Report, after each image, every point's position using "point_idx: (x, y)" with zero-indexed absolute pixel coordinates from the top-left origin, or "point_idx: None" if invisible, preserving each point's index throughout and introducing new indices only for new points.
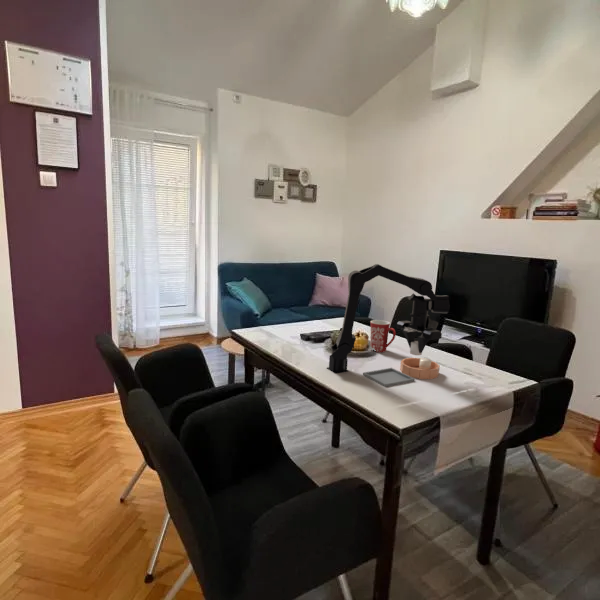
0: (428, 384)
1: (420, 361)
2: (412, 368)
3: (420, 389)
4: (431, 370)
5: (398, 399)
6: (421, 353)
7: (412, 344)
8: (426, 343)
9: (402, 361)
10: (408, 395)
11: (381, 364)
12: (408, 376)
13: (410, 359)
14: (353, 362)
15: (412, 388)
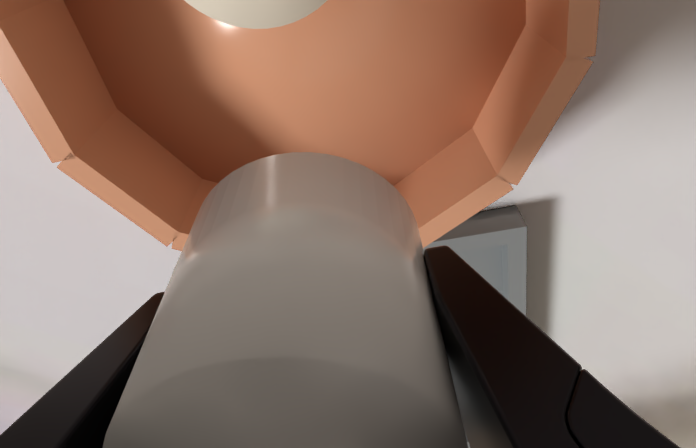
0: (623, 104)
1: (252, 20)
2: (431, 238)
3: (664, 238)
4: (594, 31)
5: (688, 417)
6: (402, 206)
7: None
8: (646, 424)
9: (177, 234)
10: (685, 355)
11: (9, 259)
12: (454, 250)
13: (20, 40)
14: (2, 415)
15: (612, 282)
